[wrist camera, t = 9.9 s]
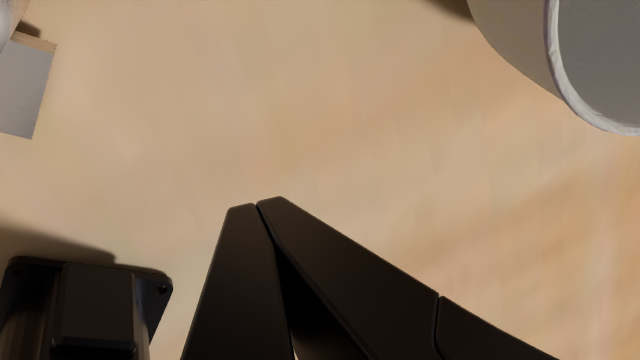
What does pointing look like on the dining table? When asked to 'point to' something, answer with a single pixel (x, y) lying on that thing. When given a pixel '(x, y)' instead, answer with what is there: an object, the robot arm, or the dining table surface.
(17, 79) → the base
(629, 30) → the teacup
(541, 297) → the dining table surface
